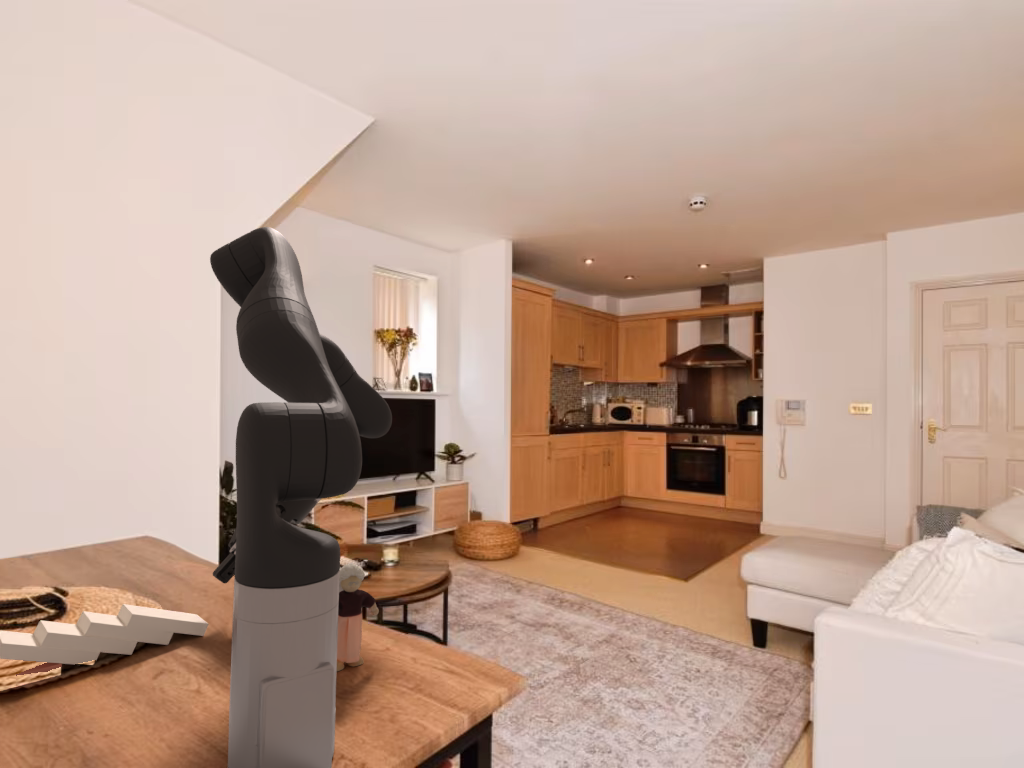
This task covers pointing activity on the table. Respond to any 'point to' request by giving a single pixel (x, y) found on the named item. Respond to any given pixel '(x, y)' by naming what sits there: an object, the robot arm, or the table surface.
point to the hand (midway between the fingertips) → (218, 579)
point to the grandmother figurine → (351, 615)
